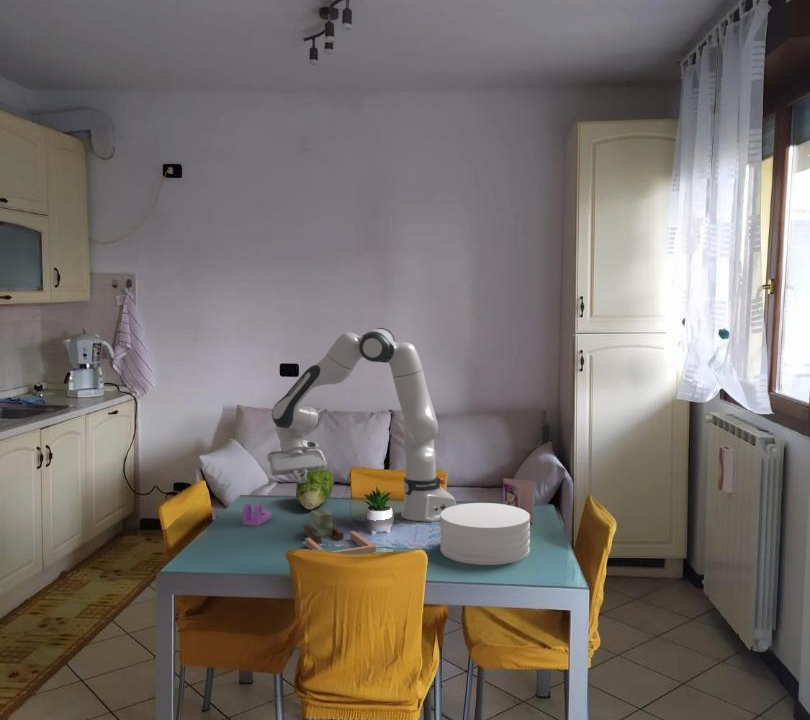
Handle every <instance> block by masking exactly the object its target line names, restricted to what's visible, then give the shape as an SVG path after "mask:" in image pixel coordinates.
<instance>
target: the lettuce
mask: <svg viewBox="0 0 810 720" xmlns="http://www.w3.org/2000/svg"><path fill="white" fill-rule="evenodd" d="M299 476H304V475H303V473H300V475H299ZM306 478H307V482H304V483H298V481H296V488H295V489H296V490H295V491H296V492H295V497H296V499H297V501H298V503H299V504H300V505H301V506H302V507H303V508H305V509H306V510H315V509H316V508H318V507H320V506H321V505H322V504H324V503H326V501H327V500H328V499H329V498H330V497H331V494H332V492H333V487H334V484H335V483H334V477H333V474H332V473H331V472H330V470H329V469H327V468H325V469H324V470H323V471H315V472H307V475H306Z"/></svg>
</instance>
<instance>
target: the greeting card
mask: <svg viewBox="0 0 810 720" xmlns="http://www.w3.org/2000/svg"><path fill="white" fill-rule="evenodd" d="M502 484H503V485H502V486H503V487H502V489H503V494H502V495H503V497H502V498H503V499H502V500H503V503H502V504H504V505H510V506H514V507H517V508H520V509H523V510H525V511H526V512H528V513H529V515H530V522H529V523H530V525H531V524H532V525H533V524H534V481H530V480H522V479H515V478H514V479H513V478H505V477H503V483H502Z"/></svg>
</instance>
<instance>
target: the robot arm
mask: <svg viewBox="0 0 810 720" xmlns="http://www.w3.org/2000/svg"><path fill="white" fill-rule="evenodd" d="M362 358H364V359H365V360H367V361H369V362H372V363H385V364H386V363H387V364H389V367H390V370H391V371H390V372H391V375H392V378H393V383H394V387H395V392H396V396H397V399H398V403H399V404H400V408H401V409H400V410H401V411H402V416H403V420H402V426H403V427H402V429H403V430H402V431H403V444H404V445H403V448H404V457H405V459H404V464H405V466H404V468H405V469H404V470H405V471H404V477H403V479H404V480H403V489H404V491H403V492H404V499H403V505H402V510H401V514H400V516H401V518H403V519H406V520H409V521H418V522H427V523H435V522H441V519H440V514H441V512H442V511H443V510H444V509H446V508H449V507H451V506H455V505H457V503H456V499H455V497H454V496H453V495H452V494H451V493H449V492H448V490H445V489H444V488H443V487H441V485H445V484H446V482H447V481H446V479H445V478H442V477H441V478H439V477H437V475H436V474H437V470H436V468H437V467H436V465H437V463H436V461H437V458H436V450H435V449H436V447H435V439H436V438H437V436H438V433H439V424H438V420H437V416H436V412H435V409H434V405H433V402H432V398H431V396H430V393H429V389H428V386H427V385H428V384H427V381H426V378H425V377H426V376H425V373H424V368H423V365H422V361H421V358H420V356H419V353H418V351H417V349H416V347H415V346H414V344H412V343H411V342H408V341H403V342H396V338H395V336H394V335H393V333H392V332H391V331H390V330H388V329H387V328H384V327H378V328H377V327H376V328H374V329H371V330H369V331H367V332H366V333H364V334H363V335H362V336H360V335H358V334H356V333H355V332H351V331H350V332H349V331H346V332H343V333H341V335H340V336H339V337H338V338H337V339H336V340H335V342H333V343H332V345H331V347H330V348H329V349H328V351H327V352H326V353H325V355H324V356H323V358H322V359H320V361H318V362H317V363H316V364H313V365H311V366H309V367H308V368H307V369H306V370H305V371H304V372H303V374H302V375H301V376H300V377H299V378H298V380H296V382H294V384H293V385H292V386H291V388H290V389H289V391H288V392H286V393H285V395H284V396H282V398H281V399H279V401H277V402H276V403H275V404H274V406H273V407H272V410H271V418H272V421H273V422H274V426H275V430H276V431H275V432H276V435H277V438H278V440H279V446H280V450H278V451H270V453H268V454H267V456H266V457H267V460H268V462H269V468H270V469H269V470H270V474H271V475H272V476H274V477H276V476H283V475H284V476H285V475H292V476H293V477H294V478H295V479H296V480H297V482H298V483H304V482H307V478H306V475H307V472H315V471H323V470H324V469H326V468H327V461H326V458H325V455H324V453H323V451H322V450H321V449H319V443H318V442H315V441H310V440H307V439H304V437H306V436H308V435H309V434H311V433H312V432H314V431H315V430H316V429H317V427H318V426H319V424H320V415H319V414H320V413H319V411H318V410H317V409H316V408H314V407H311V406H309V405H305V404H300V403H301V402H302V401H303V400H304V398H306V396H307V395H308V394H309V392H310V391H312V390H313V389H314V388H316V387H319V386H326V385H337V384H340V383H343V382H344V381H346V380H347V378H348V377H349V376H350V374H351V373H352V372H353V370H354V368H355V367H356V366H357V364H358V362H360V360H361V359H362ZM302 473H303V475H304V476H300V475H299V474H302Z"/></svg>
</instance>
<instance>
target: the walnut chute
mask: <svg viewBox="0 0 810 720" xmlns="http://www.w3.org/2000/svg"><path fill="white" fill-rule="evenodd" d="M302 529H303V530H302V532H303V534H304V535H306V536H307V538H311V539H312V540H313V541H314V542H316V543H317V544H318V545H320V544H319V543H321V544H322V539H321V535H319V534H318V533H317V532H316V531H315V530H313V529H312V526H310V525H308V524H303V525H302ZM334 536H335V537H336V538H338V539H339V540H342V539H344V537H345V536H344V532H343V531H342V530H341V529H339V528H338V527H336V526H335V525H334V524H333V537H334ZM335 537H334V538H335ZM336 538H335V539H336ZM338 539H337V540H338ZM339 540H338V541H339ZM342 541H343V540H342Z"/></svg>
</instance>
